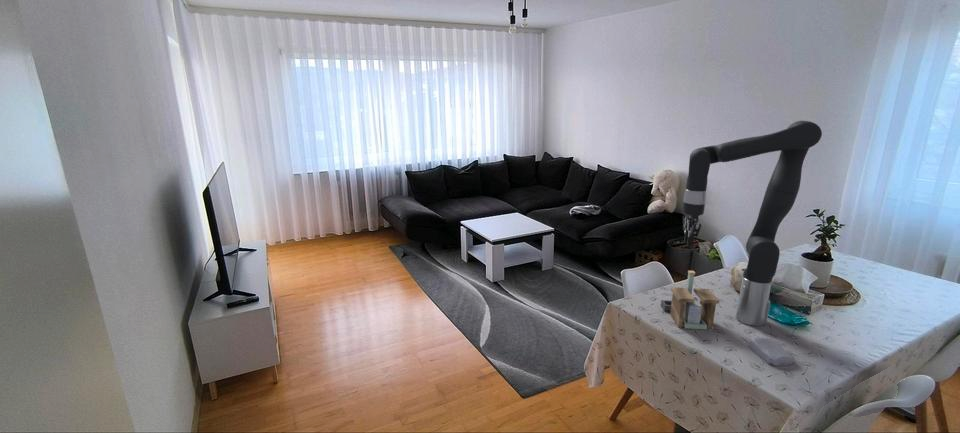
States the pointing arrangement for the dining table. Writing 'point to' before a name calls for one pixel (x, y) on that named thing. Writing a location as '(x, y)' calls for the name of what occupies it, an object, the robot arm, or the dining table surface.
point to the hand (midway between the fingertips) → (688, 244)
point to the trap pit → (666, 305)
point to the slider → (689, 288)
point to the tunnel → (683, 296)
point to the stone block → (771, 351)
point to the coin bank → (738, 275)
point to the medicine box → (692, 312)
